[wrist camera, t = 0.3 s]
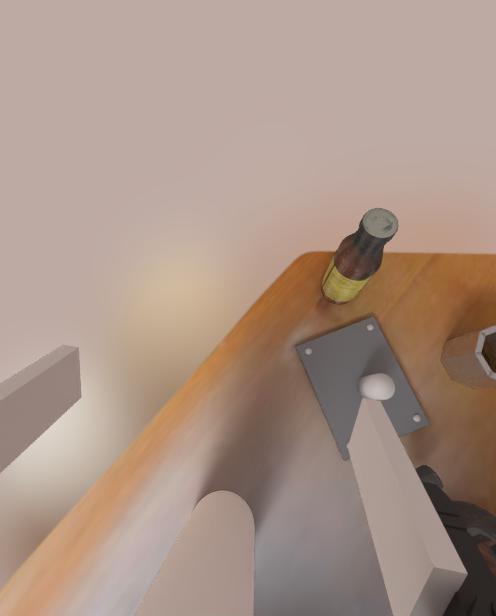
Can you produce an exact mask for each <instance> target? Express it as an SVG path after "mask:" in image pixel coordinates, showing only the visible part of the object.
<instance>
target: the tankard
mask: <svg viewBox="0 0 496 616" xmlns="http://www.w3.org/2000/svg"><path fill="white" fill-rule="evenodd" d="M415 470H416V472H417V474H418V476H419V478H420V480H421V481H422V482H428V483H433V484H436V485H437V486H438V487H439V488H440V489H442V488H443V485H442V482H441V480H440V478H439V477H438V475H437V474H436V473H435V472H434V471H433V470H432V469H431V468H430V467H429V466H427V465H422V466H420V467H418V468H416V469H415ZM451 502H452V503H453V505H454V507H455V509H456V510H457V512H458V514H459V518H460V519H462V521H463V522H464V524H465V526H466V528H467V532H468V533H470V535H471V536H472V538H473V540H474V542H475V543H476V545H477V547H478V549H479V550H480V552H481V554H482V555H483V557H484V559H485V561H486V562H487V564H488V566H489V568H490V569H491V571H492V573H493V575H494V576H495V578H496V517H494V516H493V515H491V514H490V513H488V512H487V511H486V510H484V509H482V508H479V507H477V506H475V505H473V504H469V503H466V502H462V501H451Z"/></svg>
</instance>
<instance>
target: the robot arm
mask: <svg viewBox="0 0 496 616" xmlns="http://www.w3.org/2000/svg"><path fill="white" fill-rule="evenodd" d="M80 398H81V381H80V363H79V348H78V347H73V346H67V345H62V346H60V347H59V348H57V349H56V350H54V351H52V352H51V353H49V354H47V355H46V356H44V357H43V358H41V359H39V360H38V361H36V362H35V363H33V364H31V365H30V366H28V367H26V368H25V369H23V370H22V371H20V372H18V373H17V374H15V375H14V376H12V377H10V378H9V379H7V380H5V381H4V382H2V383H1V384H0V473H1V472H2V471H3V470H4V469H5V468H6V467H7V466H8V465H10V464H11V463H12V462H13V461H14V460H15V459H16V458H17V457H18V456H19V455H20V454H21V453H22V452H23V451H24V450H25V449H27V448H28V447H29V446H30V445H31V444H32V443H33V442H34V441H35V440H36V439H37V438H38V437H40V435H42V434H43V433H44V432H45V431H46V430H47V429H48V428H49V427H50V426H51V425H52V424H53V423H54V422H56V421H57V420H58V419H59V418H60V417H61V416H62V415H63V414H64V413H65V412H66V411H67V410H68V409H69V408H70V407H72V406H73V405H74V403H76V402H77V401H78V400H79V399H80ZM348 450H349V454H350V458H351V461H352V465H353V469H354V472H355V476H356V480H357V483H358V487H359V491H360V495H361V498H362V502H363V506H364V509H365V513H366V517H367V520H368V524H369V528H370V531H371V535H372V539H373V543H374V546H375V550H376V554H377V557H378V561H379V565H380V568H381V572H382V576H383V579H384V583H385V587H386V591H387V594H388V598H389V602H390V605H391V609H392V613H393V616H496V578H495V576H494V575H493V573H492V571H491V569H490V568H489V566H488V564H487V562H486V561H485V559H484V557H483V555H482V554H481V552H480V550H479V549H478V547H477V545H476V543H475V542H474V540H473V538H472V536H471V535H470V533H468V532H467V528H466V526H465V524H464V522H463V521H462V519H460V518H459V514H458V512H457V510H456V509H455V507H454V505H453V503H452V502H451V500H450V498H449V497H448V496H447V495H446V494H445V493H444V492H443V491H442V490H441V489H440V488H439V487H438V486H437V485H436V484H433V483H428V482H422V481H421V480H420V478H419V476H418V474H417V472H416V470H415V468H414V467H413V465H412V463H411V461H410V459H409V457H408V455H407V453H406V451H405V449H404V447H403V445H402V443H401V441H400V439H399V437H398V435H397V433H396V431H395V429H394V427H393V425H392V423H391V421H390V419H389V417H388V415H387V413H386V411H385V409H384V407H383V405H382V403H381V401H378V400H372V399H366V398H363V399H362V402H361V405H360V408H359V412H358V415H357V418H356V422H355V425H354V428H353V432H352V435H351V438H350V441H349V445H348Z"/></svg>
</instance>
